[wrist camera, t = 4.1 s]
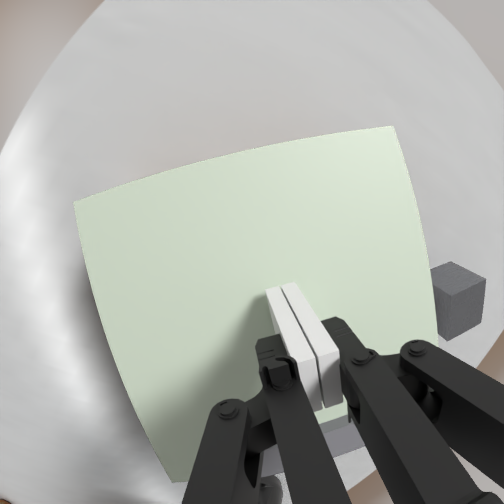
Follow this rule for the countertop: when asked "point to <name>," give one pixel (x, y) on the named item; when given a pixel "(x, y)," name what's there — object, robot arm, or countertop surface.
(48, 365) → the countertop surface
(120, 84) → the countertop surface
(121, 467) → the countertop surface
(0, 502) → the onion
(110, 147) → the countertop surface
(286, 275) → the lid
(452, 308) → the block
